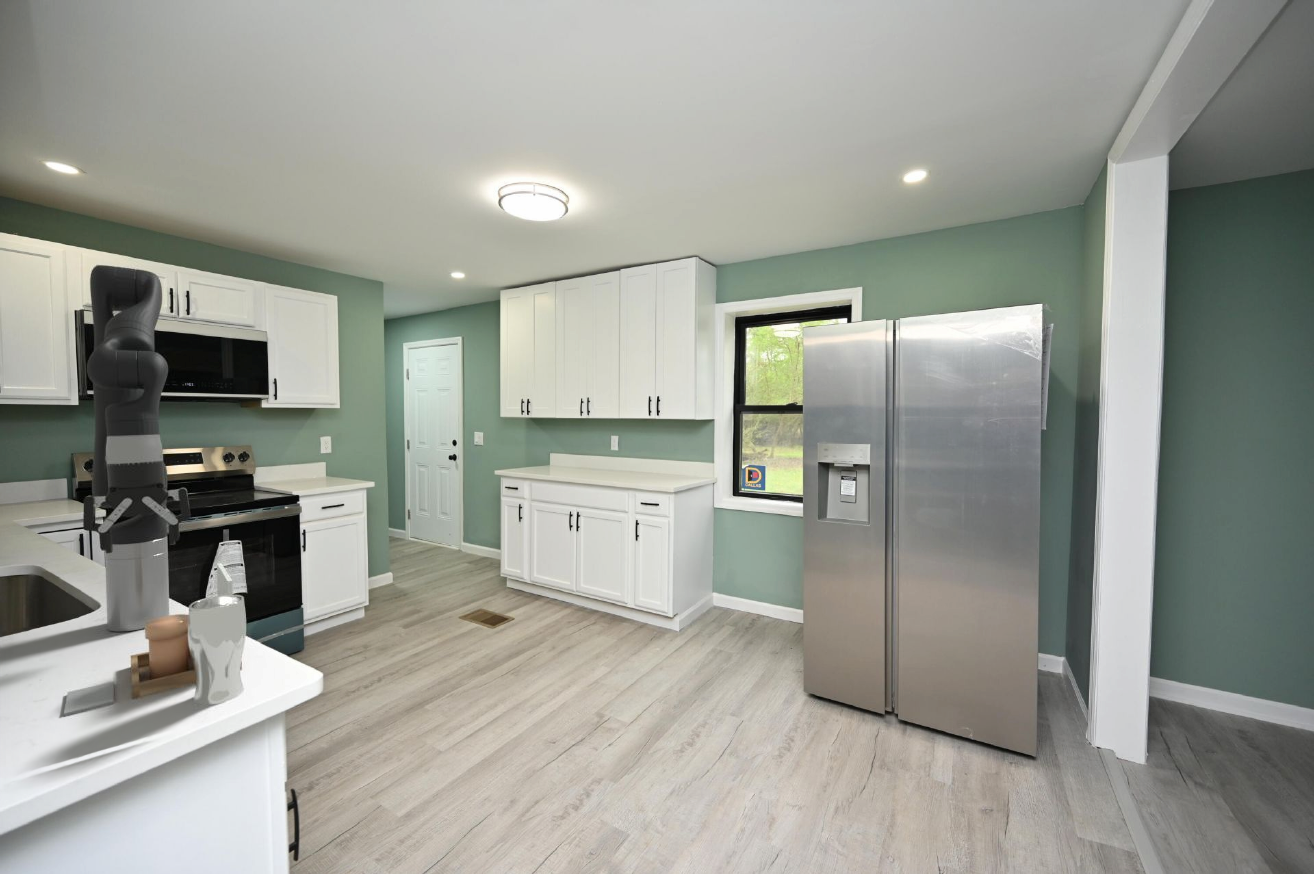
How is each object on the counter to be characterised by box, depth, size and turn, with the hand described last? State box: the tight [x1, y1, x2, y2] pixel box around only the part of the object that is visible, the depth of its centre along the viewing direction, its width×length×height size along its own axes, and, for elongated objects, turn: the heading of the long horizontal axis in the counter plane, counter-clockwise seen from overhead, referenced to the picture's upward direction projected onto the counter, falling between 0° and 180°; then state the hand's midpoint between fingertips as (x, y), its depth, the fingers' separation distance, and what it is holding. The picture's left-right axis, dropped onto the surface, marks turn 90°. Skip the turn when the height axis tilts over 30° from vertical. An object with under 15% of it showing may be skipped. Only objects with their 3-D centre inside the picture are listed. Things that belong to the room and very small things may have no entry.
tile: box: [63, 681, 115, 717], centre depth 83 cm, size 8×5×1 cm, turn 44°
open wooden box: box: [130, 646, 243, 700], centre depth 92 cm, size 14×13×12 cm
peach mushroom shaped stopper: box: [144, 613, 189, 680], centre depth 90 cm, size 6×6×9 cm
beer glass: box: [187, 594, 247, 707], centre depth 84 cm, size 7×7×15 cm
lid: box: [216, 562, 234, 596], centre depth 96 cm, size 14×1×9 cm, turn 44°
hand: (141, 548), depth 102 cm, fingers open, 8 cm apart
